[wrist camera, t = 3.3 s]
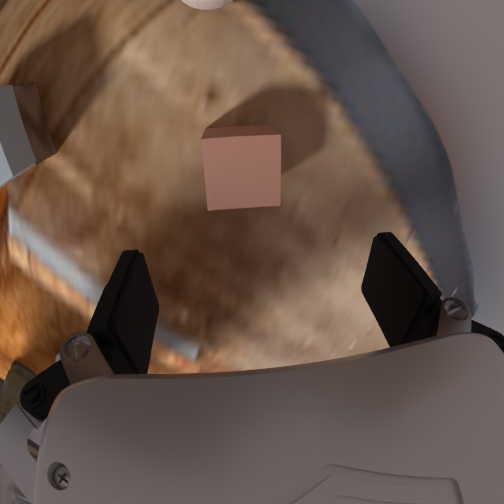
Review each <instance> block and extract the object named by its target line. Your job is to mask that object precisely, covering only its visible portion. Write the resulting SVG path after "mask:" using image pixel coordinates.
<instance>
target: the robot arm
mask: <svg viewBox="0 0 504 504" xmlns="http://www.w3.org/2000/svg"><path fill="white" fill-rule="evenodd" d="M361 289H362V293H363V295H364V297H365V299H366V301H367V303H368V305H369V307H370V309H371V311H372V312H373V314H374V316H375V318H376V320H377V322H378V324H379V326H380V328H381V330H382V332H383V334H384V336H385V338H386V340H387V342H388V344H389V346H390V348H386V349H382V350H377V351H373V352H368V353H363V354H358V355H353V356H348V357H343V358H337V359H332V360H326V361H320V362H313V363H307V364H299V365H292V366H284V367H276V368H266V369H256V370H245V371H232V372H215V373H186V374H147V373H148V367H149V361H150V355H151V349H152V344H153V338H154V333H155V328H156V322H157V318H158V313H159V304H158V300H157V297H156V294H155V291H154V288H153V285H152V282H151V278H150V275H149V272H148V268H147V265H146V261H145V258H144V255H143V253H139V251H138V250H125V251H123V252H122V254H121V256H120V258H119V261H118V263H117V265H116V267H115V269H114V271H113V273H112V276H111V278H110V280H109V282H108V284H107V285H106V286H105V288H104V290H103V293H102V295H101V297H100V300H99V302H98V304H97V307H96V309H95V312H94V314H93V317H92V319H91V322H90V324H89V327H88V329H87V332H86V333H85V332H78V333H74V334H72V335H70V336H69V337H68V338H66V339H65V340H64V342H63V343H62V345H61V347H60V351H59V352H58V353H57V355H56V358H55V362H56V363H54V364H53V365H52V366H50V367H49V368H47V369H46V370H44V371H43V372H41V373H40V374H38V375H37V376H36V377H34V378H33V379H31V380H30V381H28V382H27V383H26V384H25V385H24V387H23V388H22V391H21V394H20V403H21V404H20V405H19V406H18V405H17V404H15V406H14V407H13V408H12V409H11V411H10V412H9V413H8V415H7V416H6V417H5V418H4V420H3V421H2V422H1V424H0V504H20V503H18V502H17V500H16V499H15V496H14V495H17V496H19V497H21V498H23V499H25V500H27V501H30V502H31V504H504V336H503V335H502V334H501V333H499V332H497V331H495V330H493V329H491V328H489V327H486V326H484V325H482V324H480V323H478V322H475V321H473V320H471V311H470V309H469V307H468V306H467V305H466V304H465V303H464V302H463V301H461V300H459V299H457V298H454V297H448V298H445V299H444V300H443V301H442V300H441V299H440V297H441V295H442V293H441V291H440V290H439V289H438V287H437V286H436V285H435V284H434V282H433V281H432V280H431V278H430V277H429V276H428V275H427V273H426V272H425V271H424V270H423V268H422V267H421V266H420V265H419V263H418V262H417V261H416V260H415V259H414V257H413V256H412V255H411V254H410V253H409V252H408V250H407V249H406V248H405V247H404V246H403V245H402V243H401V242H400V241H399V240H398V239H397V238H396V237H395V236H394V234H393V233H391V232H382V233H378V234H377V236H375V237H374V238H373V242H372V246H371V251H370V255H369V259H368V263H367V267H366V271H365V275H364V279H363V282H362V287H361Z"/></svg>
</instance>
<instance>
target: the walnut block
mask: <svg viewBox="0 0 504 504" xmlns="http://www.w3.org/2000/svg"><path fill="white" fill-rule="evenodd" d="M13 90H14V94H15V98H16V102H17V105H18V109H19V112H20V116H21V119H22V122H23V125H24V128H25V131H26V134H27V137H28V140H29V143H30V146H31V149H32V151H33V154H34V156H35V159H36V163H34V164H33V165H31V166H30V167H28V168H27V169H25V170H24V171H22V172H21V173H20V174H18V175H17V176H19V175H21V174H22V173H24V172H25V171H27V170H29V169H30V168H32V167H34V166H35V165H37V164H39V163H40V162H42V161H44V160H45V159H47V158H49V157H50V156H52V155H54V154H56V153H57V152H56V149H55V146H54V143H53V140H52V137H51V134H50V131H49V128H48V125H47V121H46V118H45V115H44V111H43V107H42V104H41V100H40V96H39V92H38V88H37V83H29V84H23V85H17V86H13ZM17 176H15V177H14V178H16V177H17ZM14 178H13V179H14ZM13 179H11V180H13ZM11 180H10V181H11ZM10 181H9V182H10ZM7 183H8V182H7ZM7 183H6V184H7ZM3 186H4V185H3ZM3 186H2V187H3Z"/></svg>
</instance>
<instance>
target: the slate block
mask: <svg viewBox="0 0 504 504" xmlns="http://www.w3.org/2000/svg"><path fill="white" fill-rule="evenodd" d="M34 163H36V159H35V156H34V154H33V151H32V149H31V146H30V143H29V140H28V137H27V134H26V131H25V128H24V125H23V122H22V119H21V116H20V112H19V109H18V105H17V102H16V98H15V94H14V90H13V86H12V85H7V86H1V87H0V188H1V187H2V186H3V185H5V184H6V183H7V182H9V181H10V180H11V179H13V178H14V177H15V176H17V175H18V174H20V173H21V172H22V171H24V170H25V169H27V168H28V167H30V166H31V165H33V164H34Z"/></svg>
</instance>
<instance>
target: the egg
mask: <svg viewBox="0 0 504 504" xmlns="http://www.w3.org/2000/svg"><path fill="white" fill-rule="evenodd" d="M182 1H183V2H184V3H185V4H187V5H189V6H190V7H193V8H197V9H202V10H212V9H217V8H221V7H223V6H225V5H227V4H229V3H231V2H232V1H233V0H182Z"/></svg>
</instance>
